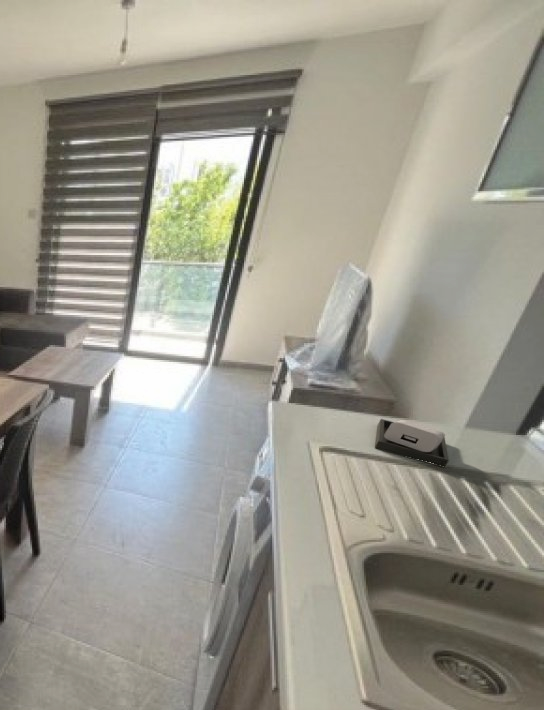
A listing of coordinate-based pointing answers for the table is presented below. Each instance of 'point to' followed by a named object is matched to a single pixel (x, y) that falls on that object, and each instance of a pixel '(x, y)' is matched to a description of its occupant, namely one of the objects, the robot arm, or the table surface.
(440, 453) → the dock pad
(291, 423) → the table surface
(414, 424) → the charger
